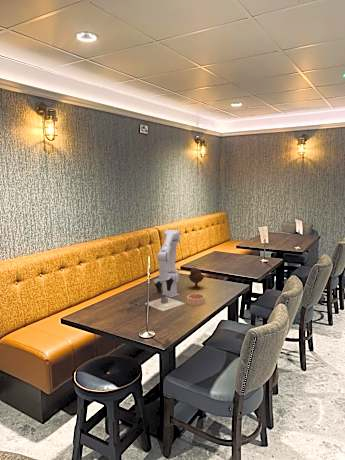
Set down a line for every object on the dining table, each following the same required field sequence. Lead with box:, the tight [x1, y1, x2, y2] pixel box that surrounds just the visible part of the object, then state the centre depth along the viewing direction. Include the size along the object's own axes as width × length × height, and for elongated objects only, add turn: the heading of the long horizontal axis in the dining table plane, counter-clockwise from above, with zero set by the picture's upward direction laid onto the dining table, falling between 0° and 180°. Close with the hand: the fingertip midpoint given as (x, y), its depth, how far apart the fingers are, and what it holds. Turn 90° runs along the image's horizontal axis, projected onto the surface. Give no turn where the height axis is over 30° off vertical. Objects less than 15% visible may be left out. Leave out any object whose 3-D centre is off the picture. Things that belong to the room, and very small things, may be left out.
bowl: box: [186, 293, 206, 307], centre depth 228 cm, size 11×11×4 cm
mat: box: [144, 296, 186, 312], centre depth 228 cm, size 18×18×1 cm
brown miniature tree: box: [188, 267, 205, 290], centre depth 258 cm, size 11×11×15 cm
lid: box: [153, 296, 176, 308], centre depth 228 cm, size 14×14×4 cm
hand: (164, 292), depth 227 cm, fingers open, 7 cm apart
